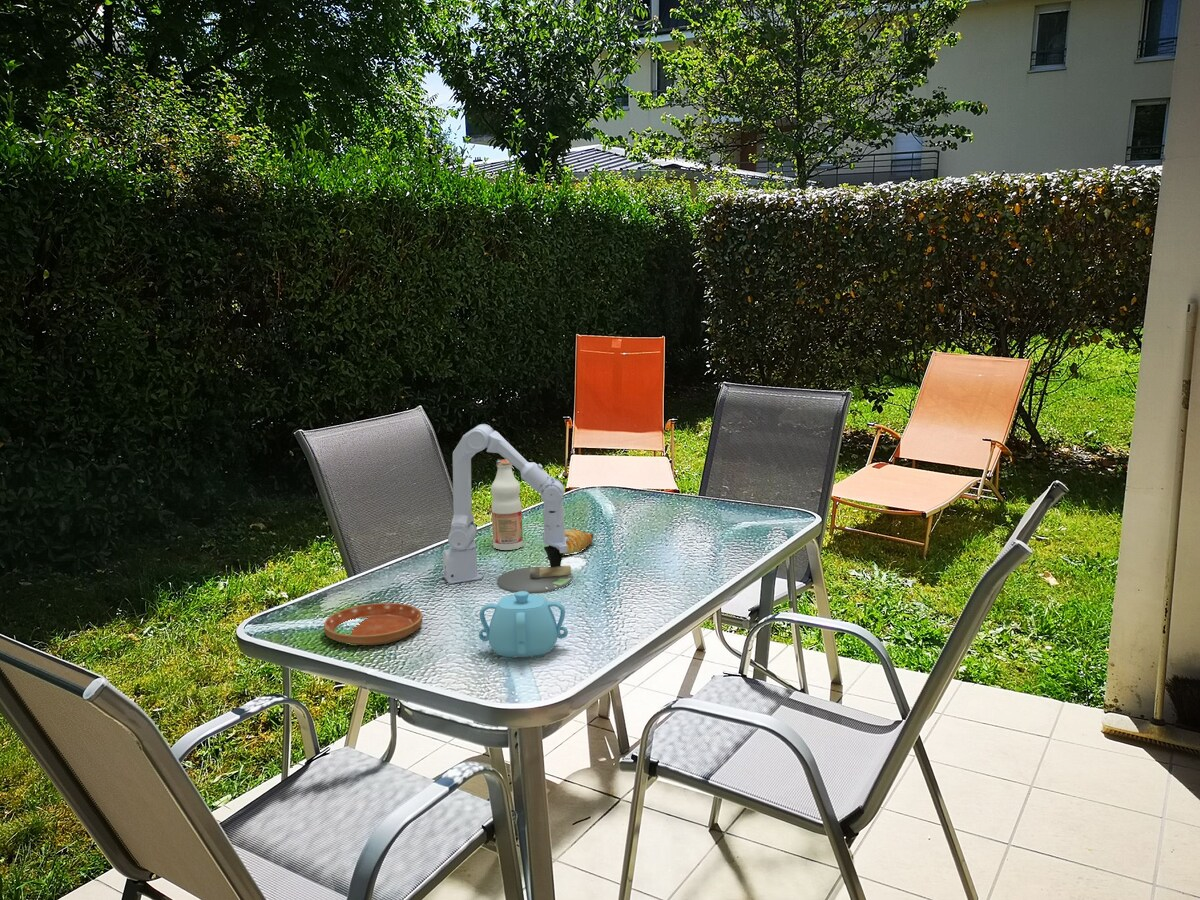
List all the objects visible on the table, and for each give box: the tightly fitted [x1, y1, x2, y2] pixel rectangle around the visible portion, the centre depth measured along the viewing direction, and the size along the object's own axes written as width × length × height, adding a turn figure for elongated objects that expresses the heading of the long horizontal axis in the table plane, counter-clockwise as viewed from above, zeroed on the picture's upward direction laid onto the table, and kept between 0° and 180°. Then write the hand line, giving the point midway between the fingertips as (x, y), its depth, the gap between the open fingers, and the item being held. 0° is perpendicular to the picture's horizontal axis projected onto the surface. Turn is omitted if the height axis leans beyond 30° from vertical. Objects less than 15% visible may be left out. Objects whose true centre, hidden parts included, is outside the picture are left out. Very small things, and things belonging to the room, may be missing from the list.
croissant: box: [563, 528, 594, 555], centre depth 280 cm, size 21×10×8 cm, turn 143°
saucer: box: [323, 602, 423, 646], centre depth 217 cm, size 23×23×4 cm
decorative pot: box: [478, 591, 569, 660], centre depth 203 cm, size 16×16×14 cm
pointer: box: [530, 565, 572, 578], centre depth 253 cm, size 11×3×2 cm, turn 102°
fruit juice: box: [490, 458, 524, 550], centre depth 284 cm, size 9×9×28 cm
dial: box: [496, 566, 574, 594], centre depth 252 cm, size 21×21×1 cm
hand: (555, 571), depth 254 cm, fingers closed, pressing on pointer
